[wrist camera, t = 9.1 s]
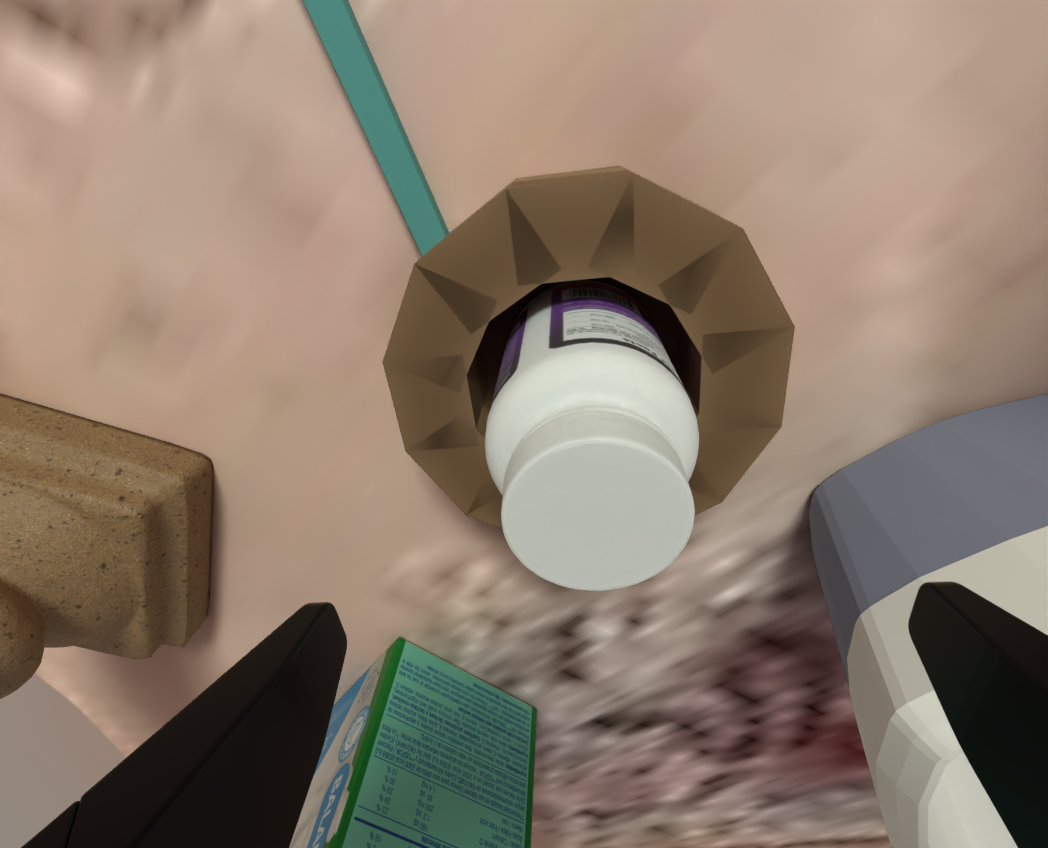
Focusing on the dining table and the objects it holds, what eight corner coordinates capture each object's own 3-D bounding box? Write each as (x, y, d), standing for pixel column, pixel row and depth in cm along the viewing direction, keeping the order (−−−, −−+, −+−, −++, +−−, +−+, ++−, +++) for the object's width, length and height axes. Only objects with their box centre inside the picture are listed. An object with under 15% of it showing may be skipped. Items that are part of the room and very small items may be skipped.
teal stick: (465, 270, 18) (462, 273, 18) (439, 280, 18) (435, 284, 18) (212, -310, 12) (197, -330, 12) (179, -283, 12) (162, -302, 12)
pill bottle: (562, 440, 21) (562, 646, 13) (477, 334, 19) (410, 494, 11) (684, 367, 19) (779, 551, 11) (604, 244, 18) (643, 349, 9)
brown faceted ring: (768, 147, 16) (817, 151, 13) (737, 479, 22) (766, 536, 18) (382, 194, 17) (342, 208, 14) (449, 495, 23) (431, 551, 20)
